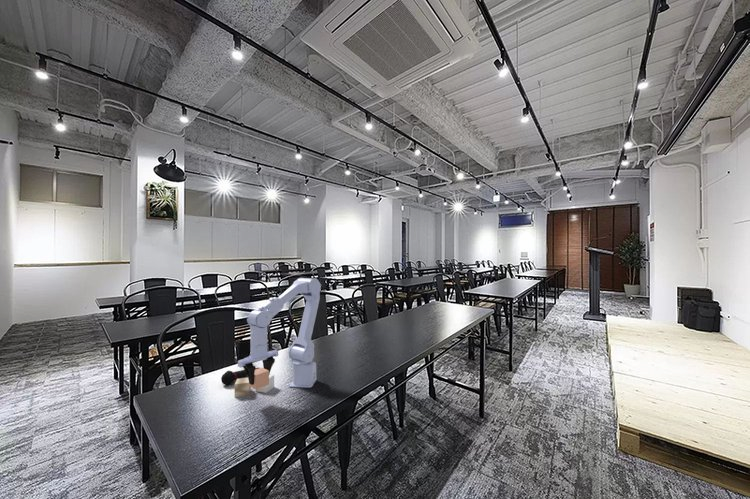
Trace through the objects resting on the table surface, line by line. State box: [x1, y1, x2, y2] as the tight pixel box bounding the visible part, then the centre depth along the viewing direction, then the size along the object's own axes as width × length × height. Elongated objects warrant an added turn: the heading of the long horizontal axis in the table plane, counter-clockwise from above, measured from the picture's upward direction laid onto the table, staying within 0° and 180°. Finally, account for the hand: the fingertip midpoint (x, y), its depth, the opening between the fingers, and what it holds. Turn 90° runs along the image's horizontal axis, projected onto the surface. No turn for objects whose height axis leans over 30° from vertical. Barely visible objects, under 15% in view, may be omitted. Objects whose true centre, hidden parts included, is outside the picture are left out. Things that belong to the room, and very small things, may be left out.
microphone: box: [220, 367, 260, 386], centre depth 126 cm, size 6×6×20 cm
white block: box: [255, 374, 275, 394], centre depth 115 cm, size 5×5×5 cm
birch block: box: [234, 377, 252, 398], centre depth 111 cm, size 5×5×5 cm
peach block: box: [249, 367, 269, 390], centre depth 104 cm, size 5×5×5 cm
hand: (258, 381), depth 104 cm, fingers closed on peach block, 5 cm apart
